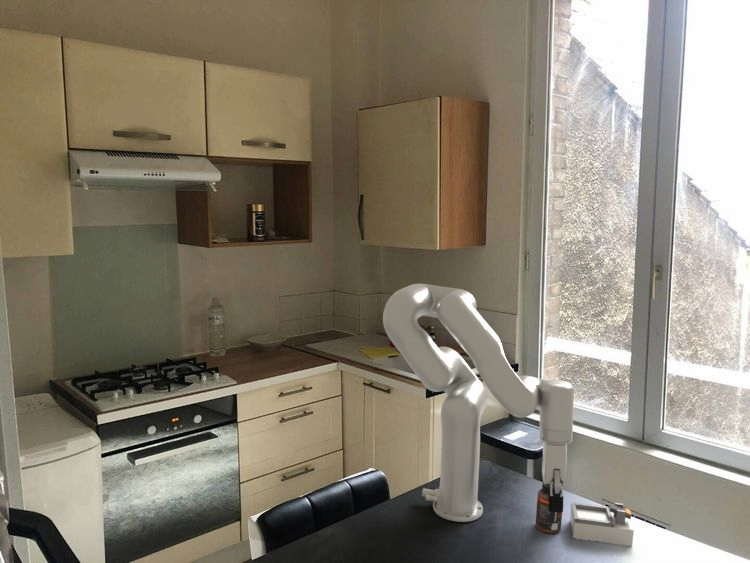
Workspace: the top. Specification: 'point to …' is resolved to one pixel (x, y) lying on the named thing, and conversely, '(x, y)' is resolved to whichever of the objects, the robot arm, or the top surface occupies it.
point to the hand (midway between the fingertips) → (554, 501)
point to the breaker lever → (614, 509)
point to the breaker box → (601, 524)
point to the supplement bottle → (546, 512)
